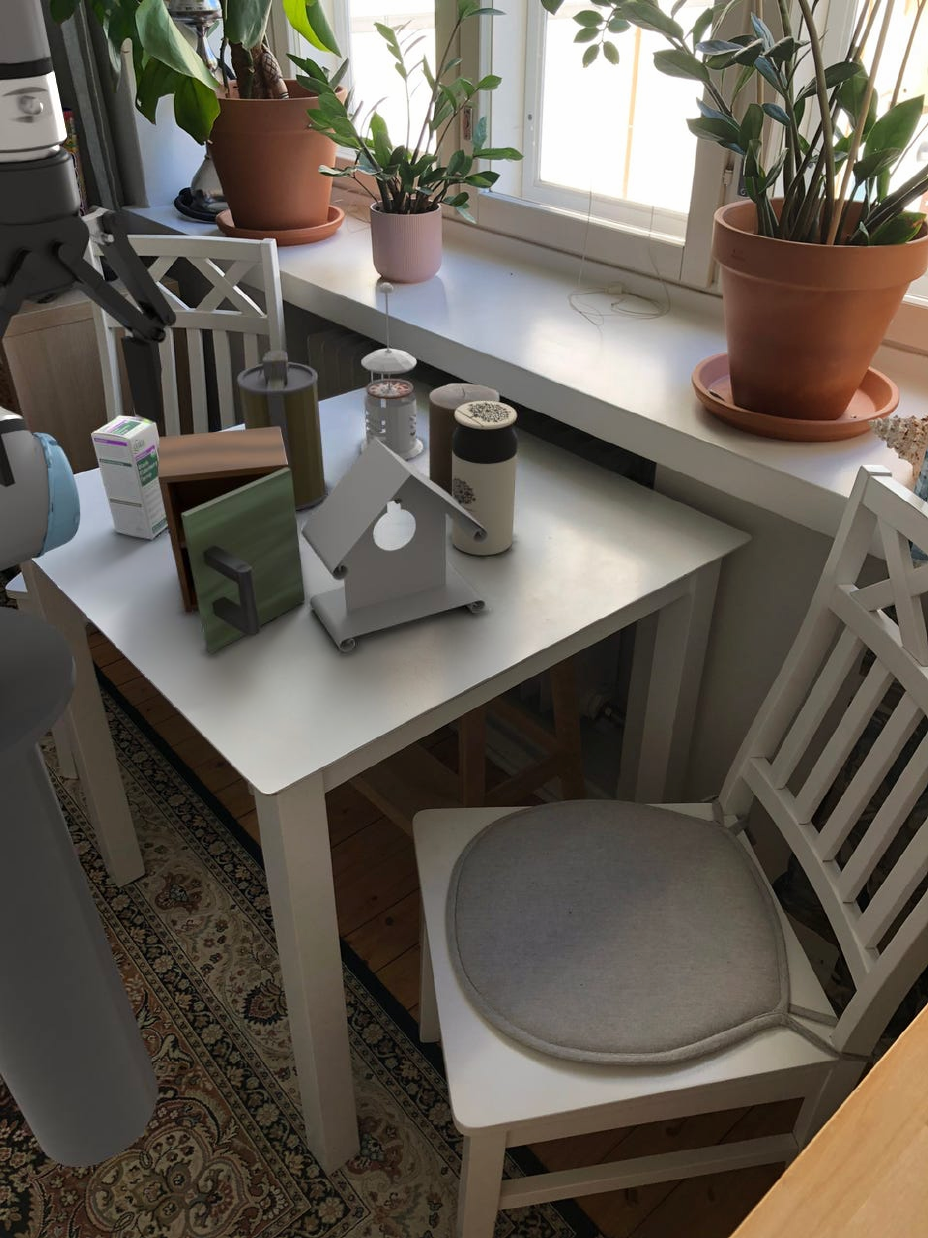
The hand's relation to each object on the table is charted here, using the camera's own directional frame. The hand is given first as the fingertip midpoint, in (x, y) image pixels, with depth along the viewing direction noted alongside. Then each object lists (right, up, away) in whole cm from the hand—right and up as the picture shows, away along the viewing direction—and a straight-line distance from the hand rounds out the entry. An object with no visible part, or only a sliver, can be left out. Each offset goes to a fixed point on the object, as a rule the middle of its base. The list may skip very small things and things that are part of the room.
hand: (79, 446), depth 73 cm
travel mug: (+33, -3, +49) cm, 59 cm away
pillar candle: (+30, +6, +62) cm, 69 cm away
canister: (+6, +4, +59) cm, 59 cm away
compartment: (+3, -9, +41) cm, 42 cm away
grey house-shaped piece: (+22, -13, +36) cm, 45 cm away
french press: (+19, +14, +72) cm, 76 cm away
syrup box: (-12, -1, +51) cm, 53 cm away
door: (+9, -15, +32) cm, 36 cm away
